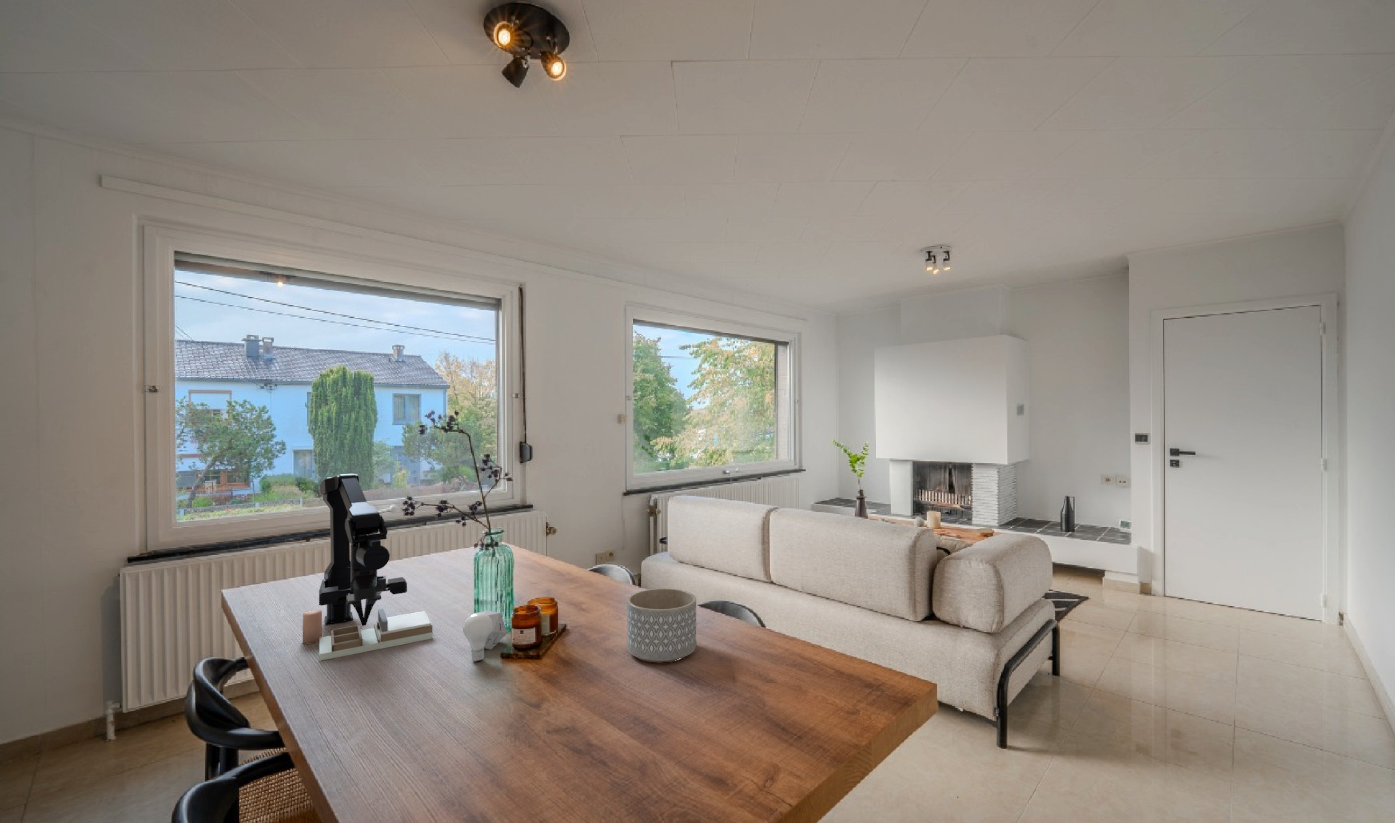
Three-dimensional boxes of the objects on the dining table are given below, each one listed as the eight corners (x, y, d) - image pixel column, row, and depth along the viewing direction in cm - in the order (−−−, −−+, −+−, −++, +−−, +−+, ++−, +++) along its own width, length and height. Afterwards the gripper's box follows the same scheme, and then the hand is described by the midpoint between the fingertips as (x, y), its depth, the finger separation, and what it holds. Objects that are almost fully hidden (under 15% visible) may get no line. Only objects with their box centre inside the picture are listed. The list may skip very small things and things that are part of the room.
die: (470, 659, 135) (497, 624, 135) (453, 632, 139) (478, 599, 140) (495, 659, 142) (520, 625, 142) (478, 634, 147) (502, 602, 147)
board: (319, 643, 142) (319, 631, 142) (425, 624, 156) (425, 612, 156) (319, 660, 132) (319, 647, 132) (432, 638, 146) (432, 626, 146)
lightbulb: (456, 663, 131) (456, 615, 131) (479, 653, 136) (479, 606, 136) (476, 669, 128) (476, 619, 128) (498, 658, 133) (498, 611, 133)
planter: (665, 673, 126) (665, 615, 126) (613, 654, 136) (613, 600, 136) (709, 648, 139) (709, 596, 139) (658, 633, 149) (658, 584, 149)
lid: (378, 621, 149) (378, 609, 149) (424, 612, 155) (424, 601, 155) (382, 634, 140) (382, 622, 140) (431, 625, 146) (431, 613, 146)
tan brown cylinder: (302, 639, 145) (302, 611, 145) (321, 636, 147) (321, 608, 147) (302, 644, 142) (302, 616, 142) (321, 641, 144) (321, 613, 144)
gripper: (319, 575, 131) (318, 644, 131) (409, 563, 141) (409, 627, 141) (319, 565, 140) (319, 629, 140) (404, 554, 150) (404, 614, 150)
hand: (363, 625), depth 142 cm, fingers closed
